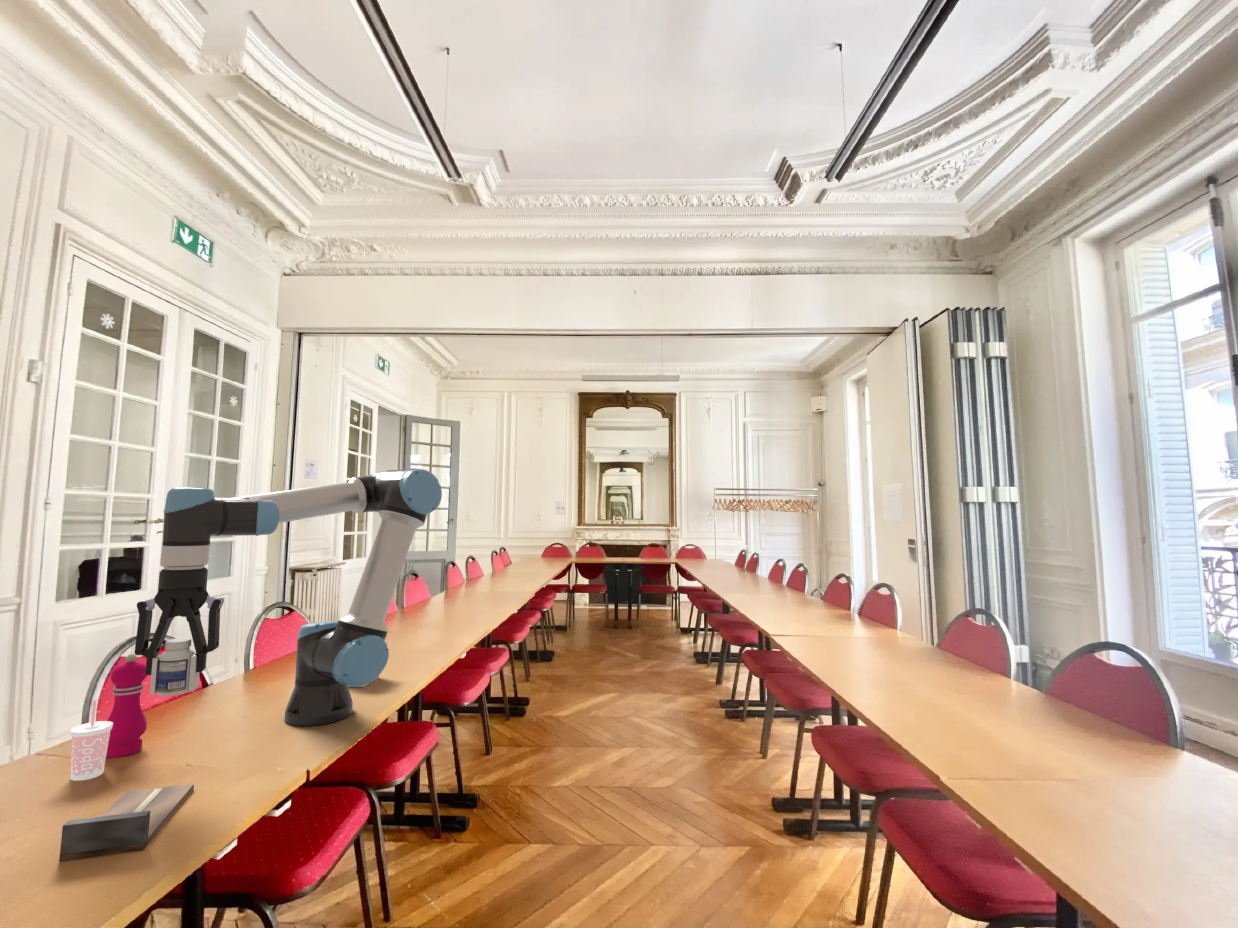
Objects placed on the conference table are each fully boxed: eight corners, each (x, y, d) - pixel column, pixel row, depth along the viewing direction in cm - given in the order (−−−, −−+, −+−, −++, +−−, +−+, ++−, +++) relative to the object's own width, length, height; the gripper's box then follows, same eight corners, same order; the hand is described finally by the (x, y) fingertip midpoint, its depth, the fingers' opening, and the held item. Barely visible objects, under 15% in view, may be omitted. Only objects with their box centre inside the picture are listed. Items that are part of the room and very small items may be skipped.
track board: (193, 789, 105) (195, 760, 105) (142, 850, 86) (146, 815, 86) (126, 796, 102) (129, 767, 102) (59, 862, 83) (62, 825, 83)
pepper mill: (118, 760, 116) (127, 659, 118) (89, 757, 117) (99, 656, 119) (153, 746, 123) (162, 651, 125) (126, 743, 124) (135, 649, 126)
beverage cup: (58, 784, 106) (66, 706, 107) (74, 771, 111) (81, 696, 112) (100, 779, 108) (108, 702, 109) (114, 766, 114) (121, 693, 115)
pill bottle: (171, 687, 112) (176, 636, 113) (198, 688, 112) (202, 637, 113) (148, 696, 107) (153, 642, 107) (176, 697, 106) (181, 643, 107)
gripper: (245, 565, 118) (236, 681, 116) (136, 566, 112) (125, 688, 110) (233, 568, 111) (224, 692, 109) (116, 570, 105) (104, 701, 103)
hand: (174, 690), depth 109 cm, fingers closed on pill bottle, 5 cm apart
